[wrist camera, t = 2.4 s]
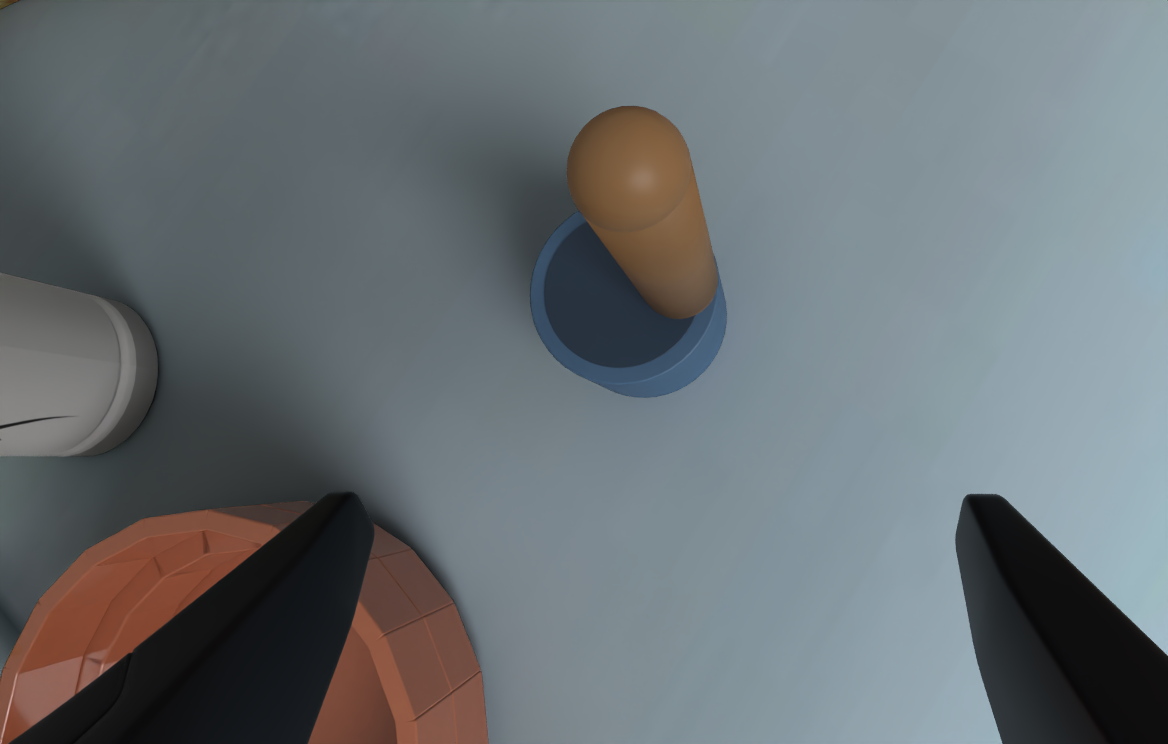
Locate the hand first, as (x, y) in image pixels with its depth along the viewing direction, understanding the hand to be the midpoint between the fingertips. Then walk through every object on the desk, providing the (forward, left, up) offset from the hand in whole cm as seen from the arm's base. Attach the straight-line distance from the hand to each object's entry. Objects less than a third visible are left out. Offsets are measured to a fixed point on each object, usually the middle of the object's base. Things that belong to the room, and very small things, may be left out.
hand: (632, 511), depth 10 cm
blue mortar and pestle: (+6, -1, -12) cm, 13 cm away
